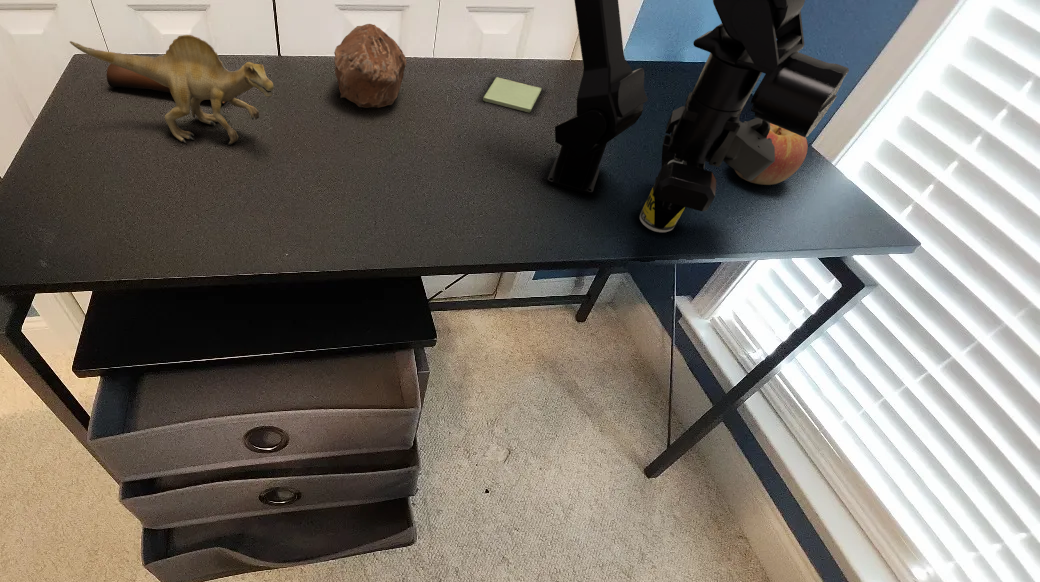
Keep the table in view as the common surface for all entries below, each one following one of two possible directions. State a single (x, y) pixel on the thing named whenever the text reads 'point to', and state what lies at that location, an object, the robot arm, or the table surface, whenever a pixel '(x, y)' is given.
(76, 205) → the table surface
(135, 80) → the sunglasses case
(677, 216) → the supplement bottle
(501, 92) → the mat
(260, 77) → the dinosaur figurine
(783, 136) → the apple
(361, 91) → the decorative rock
